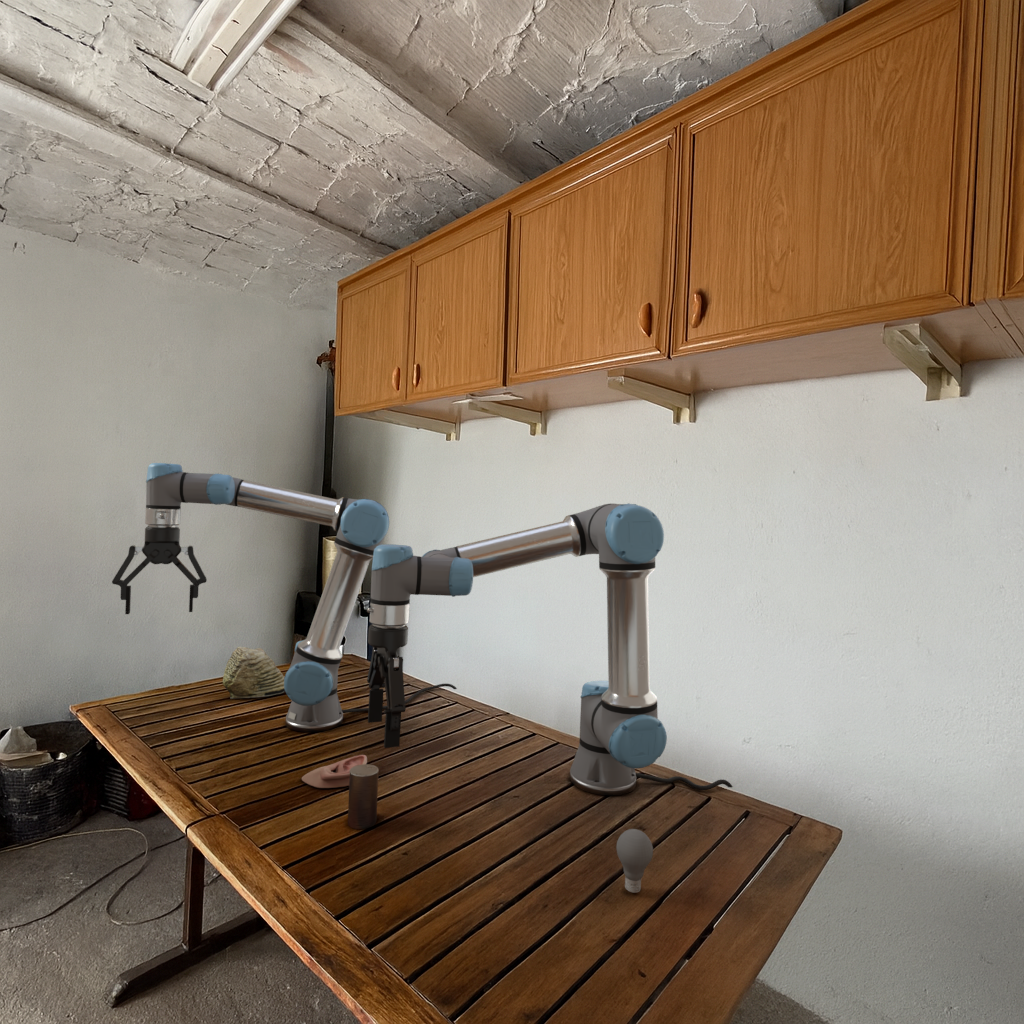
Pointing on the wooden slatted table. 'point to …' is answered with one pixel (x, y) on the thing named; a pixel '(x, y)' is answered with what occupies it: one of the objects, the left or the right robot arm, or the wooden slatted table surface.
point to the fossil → (252, 674)
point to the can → (363, 796)
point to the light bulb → (634, 857)
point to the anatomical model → (333, 773)
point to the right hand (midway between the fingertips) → (382, 733)
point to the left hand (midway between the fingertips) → (159, 612)
